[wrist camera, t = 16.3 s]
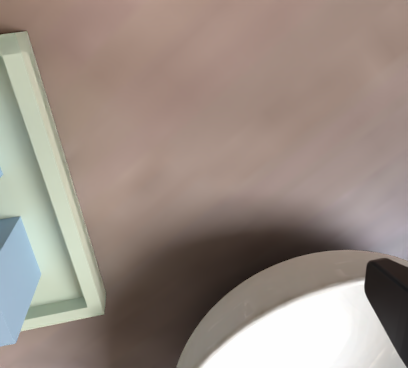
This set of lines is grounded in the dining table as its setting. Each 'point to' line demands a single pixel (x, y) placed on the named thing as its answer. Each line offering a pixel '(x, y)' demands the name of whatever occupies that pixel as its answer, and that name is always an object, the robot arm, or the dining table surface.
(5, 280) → the block
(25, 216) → the tray
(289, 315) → the serving bowl
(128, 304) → the dining table surface
